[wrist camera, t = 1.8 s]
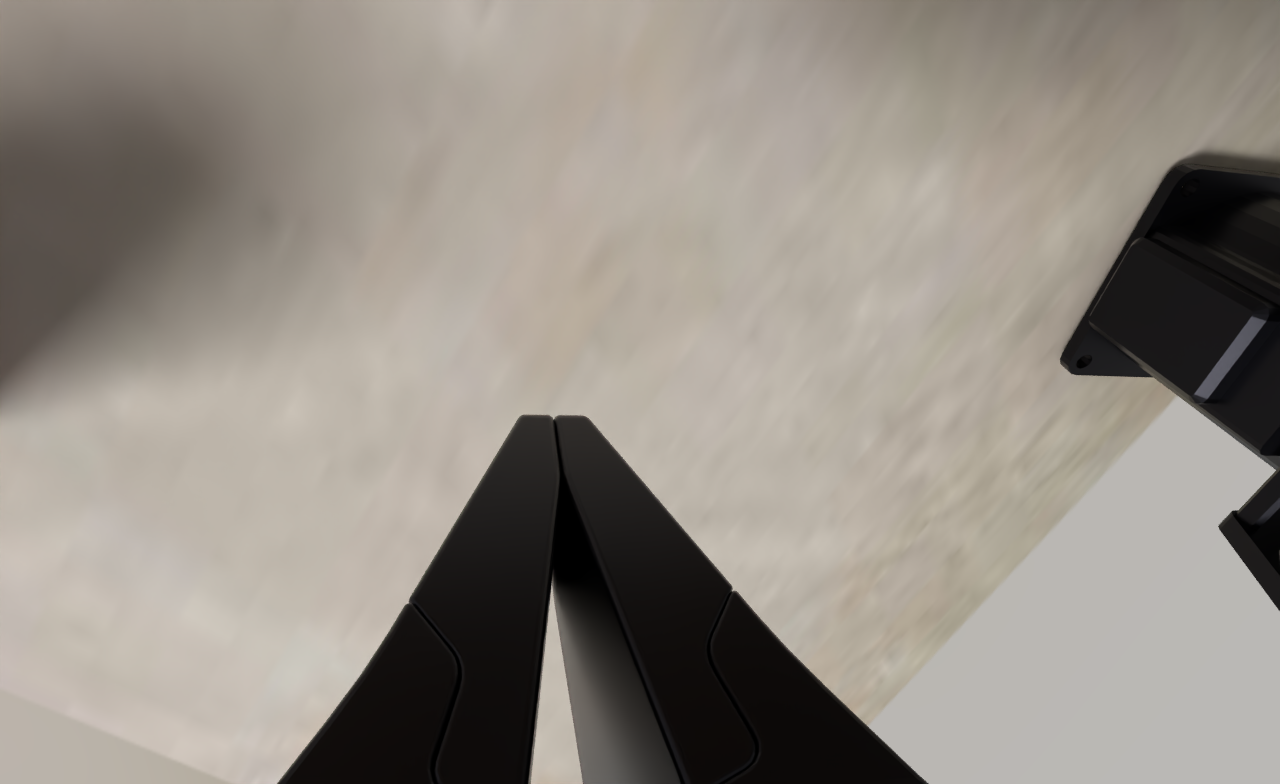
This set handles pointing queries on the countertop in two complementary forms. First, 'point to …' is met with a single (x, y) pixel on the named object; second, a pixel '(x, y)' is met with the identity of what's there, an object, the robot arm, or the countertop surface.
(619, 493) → the robot arm
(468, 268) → the countertop surface
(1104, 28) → the countertop surface
